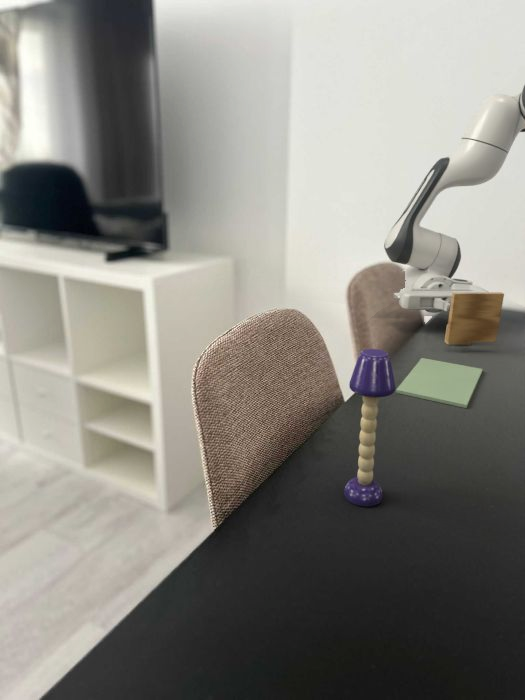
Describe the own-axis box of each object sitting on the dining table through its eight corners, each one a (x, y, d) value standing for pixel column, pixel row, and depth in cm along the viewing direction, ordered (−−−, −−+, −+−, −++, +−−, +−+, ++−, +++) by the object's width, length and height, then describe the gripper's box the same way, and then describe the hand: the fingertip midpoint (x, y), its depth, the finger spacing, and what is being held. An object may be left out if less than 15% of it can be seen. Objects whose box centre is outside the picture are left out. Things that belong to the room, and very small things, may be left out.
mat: (421, 360, 99) (421, 357, 98) (482, 372, 94) (482, 369, 93) (395, 392, 84) (396, 389, 84) (466, 408, 79) (467, 404, 79)
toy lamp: (332, 492, 57) (342, 351, 52) (356, 476, 60) (369, 342, 55) (368, 512, 54) (383, 364, 48) (392, 494, 57) (409, 353, 52)
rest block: (466, 342, 110) (469, 324, 109) (470, 345, 109) (473, 326, 107) (444, 342, 110) (446, 324, 109) (448, 345, 108) (450, 326, 107)
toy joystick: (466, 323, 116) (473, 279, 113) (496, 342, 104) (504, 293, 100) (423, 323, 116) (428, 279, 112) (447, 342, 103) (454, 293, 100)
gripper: (392, 280, 121) (412, 293, 108) (476, 280, 122) (506, 293, 109) (389, 306, 123) (409, 322, 110) (472, 306, 124) (501, 321, 111)
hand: (458, 307), depth 109 cm, fingers closed on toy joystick
